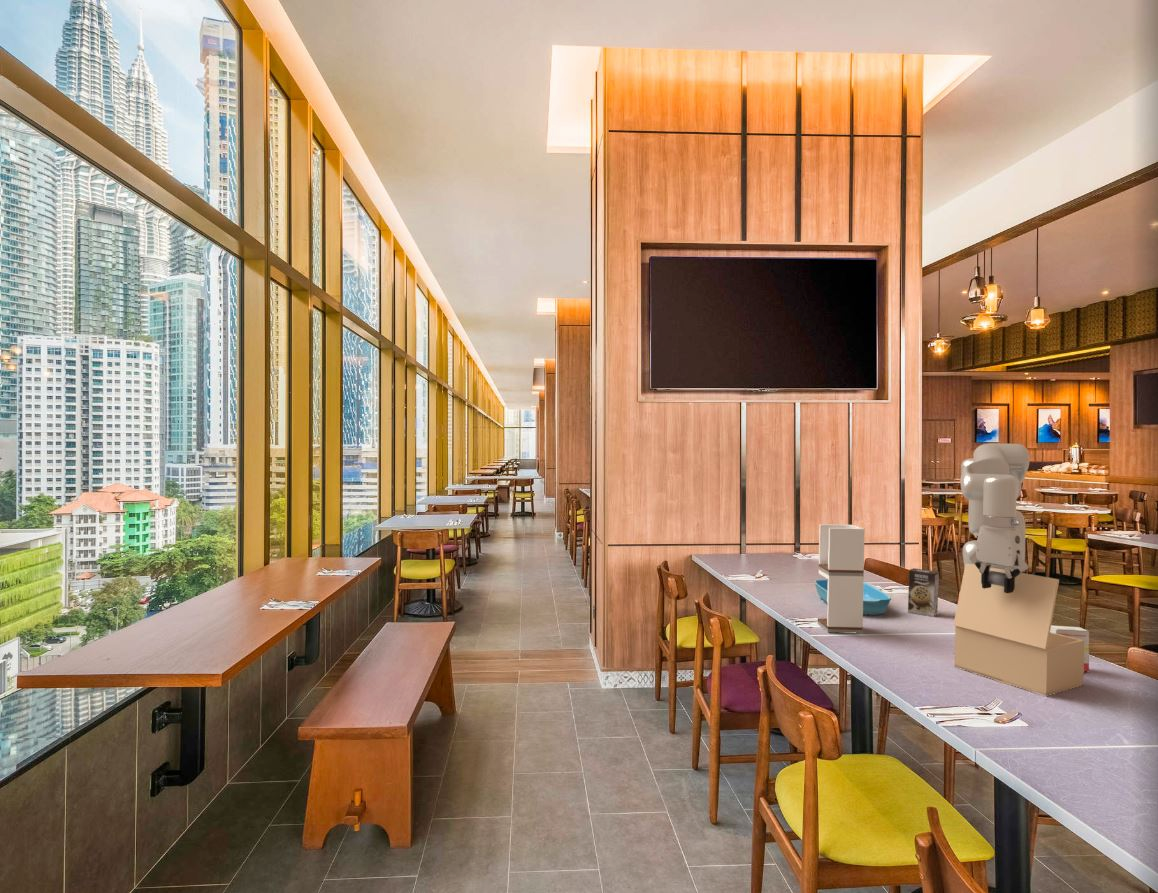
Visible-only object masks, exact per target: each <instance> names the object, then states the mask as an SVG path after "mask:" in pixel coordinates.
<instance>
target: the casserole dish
mask: <svg viewBox="0 0 1158 893" xmlns="http://www.w3.org/2000/svg"><path fill="white" fill-rule="evenodd" d="M814 584H815V588H816V592H817V594H818V596H819V597H820V598H821V599H822V600H823V601H824V602H826V603H827V592H828V579H827V578H820V579H819V578H818V579H815V580H814ZM891 600H892V597H891V596H890V595H889V594H888V593H886V592H884V591H882V590H880V589H879V588H877V587H875V586H873V585H872V584H870V583H868V582H865V581H864V582H863V615H867V614H869V615H872V616H873V615H877V616H878V615H882V614H884V613H885V612H886V611H887V609H888V607H889V604H890V602H891ZM869 615H868V616H869Z"/></svg>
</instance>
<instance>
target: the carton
mask: <svg viewBox="0 0 1158 893" xmlns="http://www.w3.org/2000/svg"><path fill="white" fill-rule="evenodd" d="M954 626H955V625H954ZM954 628H955V629H954V631H955V632H954V668H955V667H957V668H956V669H958V668H961V669H963V670H962V671H964V670H967V671H970V672H973V673H976V674H975V675H977V674H979V675H978V676H980V675H982V676H981V677H983V676H985V677H984V678H986V677H988V678H987V679H989V678H991V679H990V680H992V679H994V680H993V681H995V680H996V681H995V682H998V681H999V683H1001V684H1002V683H1003V684H1005V683H1006V684H1005V685H1008V684H1009V685H1008V686H1011V685H1013V686H1012V687H1014V686H1016V687H1015V688H1017V687H1019V688H1018V689H1020V688H1023V689H1026V690H1025V691H1027V690H1029V691H1028V692H1030V691H1032V692H1031V693H1033V692H1036V693H1039V694H1042V695H1045V696H1047V695H1050V694H1053V695H1055V694H1054V693H1057V692H1060V693H1062V692H1061V691H1063V692H1066V691H1069V690H1068V689H1070V690H1072V688H1073V689H1075V687H1076V688H1080V687H1082V686H1081V685H1083V686H1084V680H1085V679H1084V678H1085V677H1084V674H1085V672H1084V640H1081V639H1076V638H1072V637H1068V636H1064V635H1060V634H1056V633H1051V632H1050V635H1049V640H1048V646H1047V649H1043V648H1039V647H1035V646H1032V645H1028V644H1024V643H1020V642H1016V641H1012V640H1009V639H1005V638H1001V637H997V636H993V635H990V634H986V633H982V632H978V631H974V630H971V629H967V628H963V627H959V626H955V627H954ZM961 669H960V670H961ZM967 671H966V672H967ZM970 672H969V673H970ZM973 673H972V674H973ZM1079 686H1080V687H1079ZM1023 689H1022V690H1023ZM1065 690H1066V691H1065ZM1036 693H1035V694H1036ZM1039 694H1038V695H1039ZM1057 694H1058V693H1057ZM1042 695H1041V696H1042ZM1045 696H1044V697H1045ZM1050 696H1051V695H1050ZM1047 697H1048V696H1047Z"/></svg>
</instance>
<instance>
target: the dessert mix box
mask: <svg viewBox="0 0 1158 893" xmlns="http://www.w3.org/2000/svg"><path fill="white" fill-rule="evenodd" d="M939 576H940V572H939V571H935V570H928V569H923V568H922V569H920V568H915V567H914V568H910V569H909V571H908V596H907V597H908V599H907V601H908V602H907V603H908V604H907V613H911V614H915V613H916V615H920V614H922V615H921V616H926V615H928V616H927V617H932V616H934V615H935V616H936V614H937V613H938V614H939V612H938V606H939V605H938V604H939V582H940V580H939V578H940V577H939ZM938 614H937V615H938ZM935 616H934V617H935Z"/></svg>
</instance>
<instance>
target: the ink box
mask: <svg viewBox="0 0 1158 893" xmlns="http://www.w3.org/2000/svg"><path fill="white" fill-rule="evenodd" d="M1050 632H1051V633H1056V634H1060V635H1064V636H1068V637H1072V638H1076V639H1081V640H1084V673H1086V672H1085V671H1089V672H1090V631H1088V629H1084V628H1082V627H1080V626H1065V625H1064V626H1063V625H1062V626H1061V625H1051V629H1050Z"/></svg>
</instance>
